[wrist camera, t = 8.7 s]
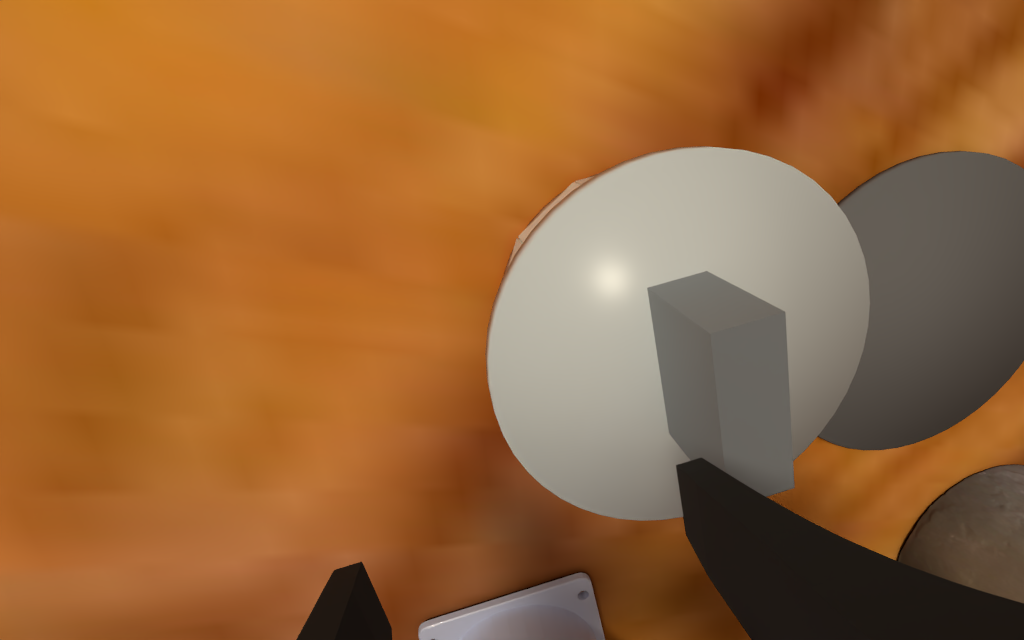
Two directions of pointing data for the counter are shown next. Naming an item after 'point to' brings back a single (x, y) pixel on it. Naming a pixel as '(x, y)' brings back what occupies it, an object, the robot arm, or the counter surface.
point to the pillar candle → (975, 534)
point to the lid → (676, 329)
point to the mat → (934, 296)
